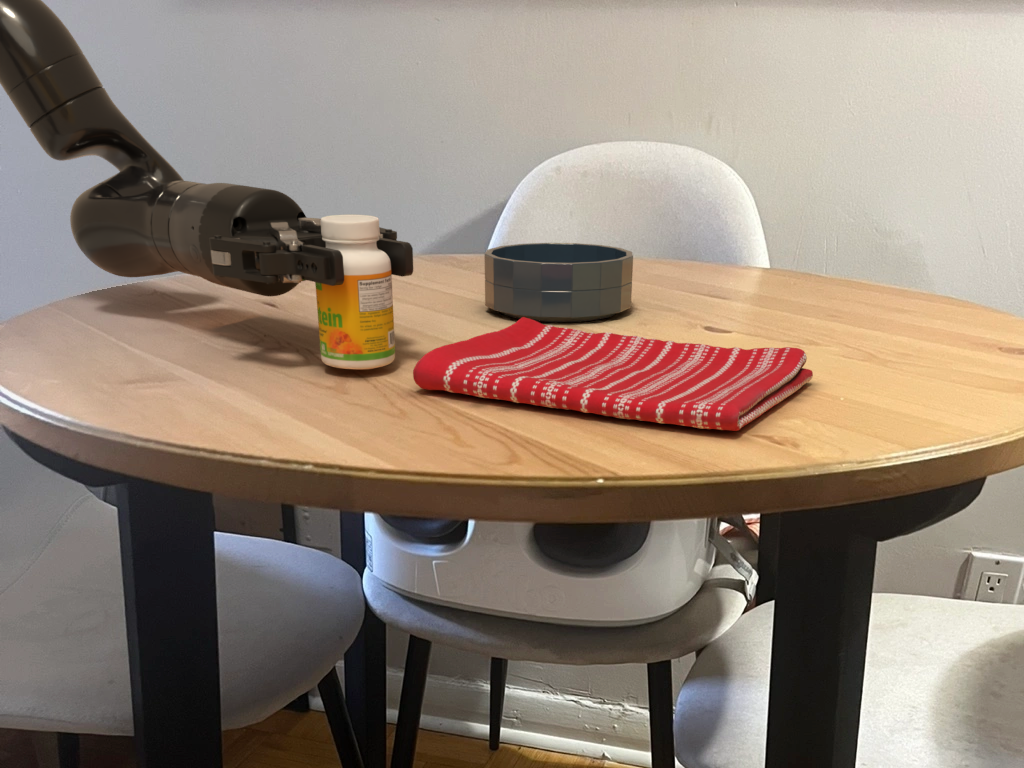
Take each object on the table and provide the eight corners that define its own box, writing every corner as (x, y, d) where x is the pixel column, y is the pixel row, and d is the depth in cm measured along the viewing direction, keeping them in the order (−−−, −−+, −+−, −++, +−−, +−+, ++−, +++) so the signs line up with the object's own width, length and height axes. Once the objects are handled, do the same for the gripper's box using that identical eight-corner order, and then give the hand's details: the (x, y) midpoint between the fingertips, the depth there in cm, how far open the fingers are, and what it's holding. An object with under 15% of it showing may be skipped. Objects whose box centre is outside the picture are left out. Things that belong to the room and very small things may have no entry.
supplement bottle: (307, 360, 84) (294, 216, 80) (368, 350, 87) (360, 211, 83) (347, 374, 81) (337, 224, 76) (410, 363, 84) (404, 219, 79)
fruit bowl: (597, 330, 98) (599, 267, 96) (460, 316, 103) (459, 256, 100) (650, 305, 108) (653, 248, 106) (524, 294, 113) (524, 239, 111)
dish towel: (523, 347, 92) (523, 313, 90) (814, 383, 82) (819, 344, 81) (403, 394, 78) (401, 354, 77) (733, 442, 69) (737, 397, 68)
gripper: (147, 190, 83) (282, 212, 73) (312, 179, 92) (452, 198, 82) (162, 299, 87) (292, 335, 77) (319, 279, 96) (455, 308, 85)
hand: (374, 264), depth 79 cm, fingers closed on supplement bottle, 5 cm apart
